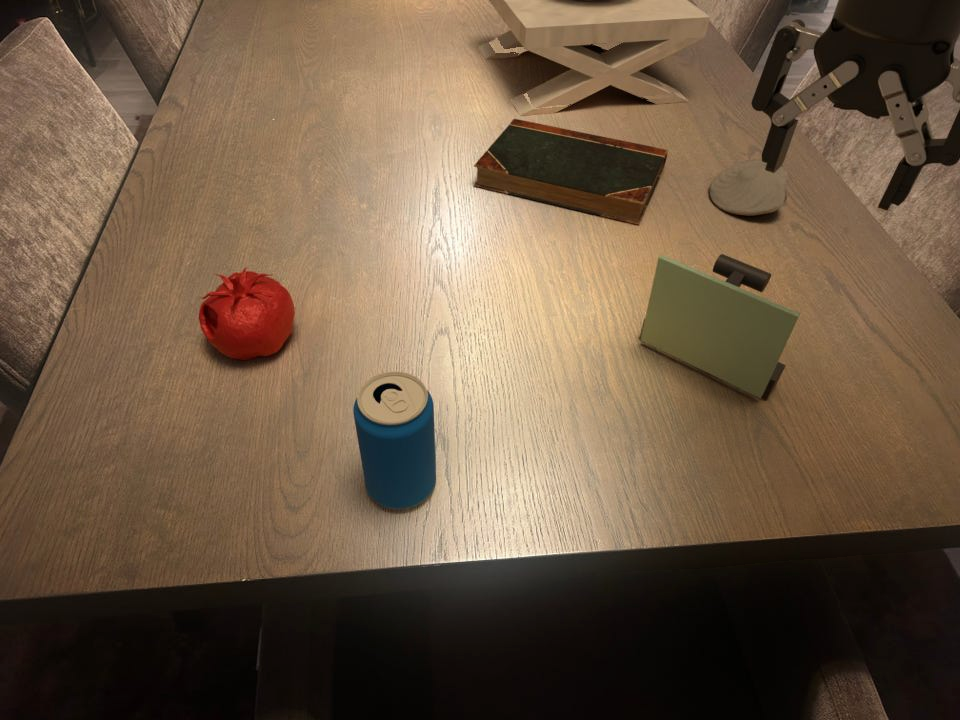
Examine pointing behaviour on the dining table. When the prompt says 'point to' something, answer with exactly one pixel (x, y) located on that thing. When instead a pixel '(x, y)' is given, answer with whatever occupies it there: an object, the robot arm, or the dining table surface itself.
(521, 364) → the dining table surface
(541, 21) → the wooden side table
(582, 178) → the book
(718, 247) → the dining table surface
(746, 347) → the sign
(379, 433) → the beverage can
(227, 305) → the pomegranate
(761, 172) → the seashell
